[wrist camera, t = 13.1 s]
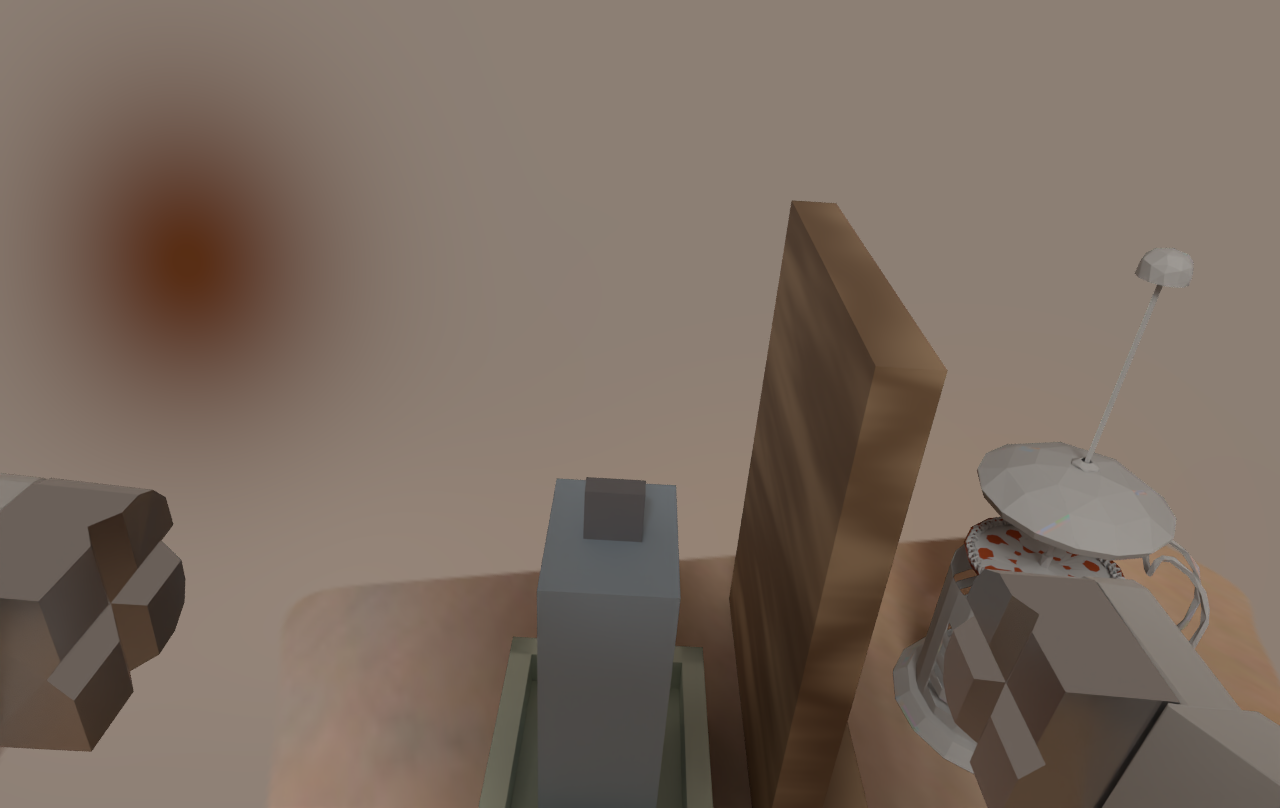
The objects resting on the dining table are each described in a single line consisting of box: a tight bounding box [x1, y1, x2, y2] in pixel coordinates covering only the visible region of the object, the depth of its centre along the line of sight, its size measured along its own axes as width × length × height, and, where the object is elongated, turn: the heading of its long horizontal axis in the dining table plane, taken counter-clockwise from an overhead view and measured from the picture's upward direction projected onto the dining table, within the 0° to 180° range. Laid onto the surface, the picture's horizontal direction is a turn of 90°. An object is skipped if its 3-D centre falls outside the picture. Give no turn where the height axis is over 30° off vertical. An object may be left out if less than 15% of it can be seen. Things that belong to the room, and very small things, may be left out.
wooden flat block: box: [729, 201, 947, 808], centre depth 35 cm, size 5×16×24 cm, turn 179°
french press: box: [893, 248, 1210, 774], centre depth 36 cm, size 10×12×25 cm
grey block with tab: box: [537, 477, 680, 808], centre depth 31 cm, size 4×6×15 cm
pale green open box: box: [479, 637, 713, 808], centre depth 35 cm, size 9×11×5 cm
